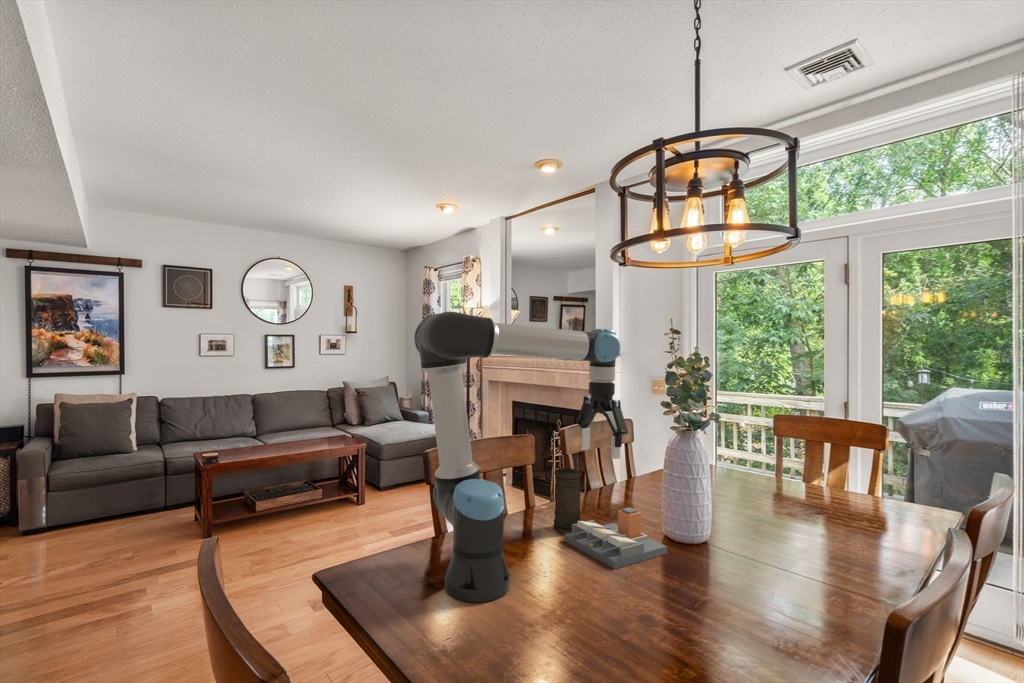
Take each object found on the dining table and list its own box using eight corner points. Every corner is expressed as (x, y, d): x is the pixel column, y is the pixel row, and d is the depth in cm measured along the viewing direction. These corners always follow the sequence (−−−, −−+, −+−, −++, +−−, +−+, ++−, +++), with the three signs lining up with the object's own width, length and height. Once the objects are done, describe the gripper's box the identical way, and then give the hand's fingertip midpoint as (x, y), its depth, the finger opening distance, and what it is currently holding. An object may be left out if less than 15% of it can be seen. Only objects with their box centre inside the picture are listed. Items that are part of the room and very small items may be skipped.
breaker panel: (614, 569, 124) (614, 551, 125) (564, 541, 142) (564, 525, 143) (666, 553, 134) (667, 537, 134) (613, 529, 152) (613, 515, 152)
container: (572, 537, 146) (573, 476, 146) (547, 530, 151) (548, 471, 151) (587, 528, 153) (588, 470, 153) (562, 522, 158) (563, 466, 158)
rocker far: (585, 530, 139) (586, 524, 139) (576, 526, 142) (577, 520, 143) (603, 532, 142) (604, 527, 143) (594, 528, 146) (595, 522, 146)
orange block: (629, 540, 138) (629, 513, 138) (617, 535, 142) (618, 508, 142) (640, 537, 141) (640, 510, 141) (629, 532, 145) (629, 506, 145)
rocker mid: (601, 539, 133) (602, 532, 134) (591, 534, 137) (592, 527, 137) (619, 539, 137) (620, 533, 137) (609, 535, 140) (611, 528, 141)
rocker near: (618, 546, 128) (619, 540, 128) (607, 541, 131) (609, 535, 131) (637, 548, 131) (638, 542, 131) (626, 543, 135) (627, 537, 135)
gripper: (642, 384, 136) (639, 461, 135) (585, 379, 157) (583, 445, 157) (621, 384, 132) (619, 463, 131) (566, 378, 154) (564, 446, 153)
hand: (599, 454), depth 144 cm, fingers open, 13 cm apart
